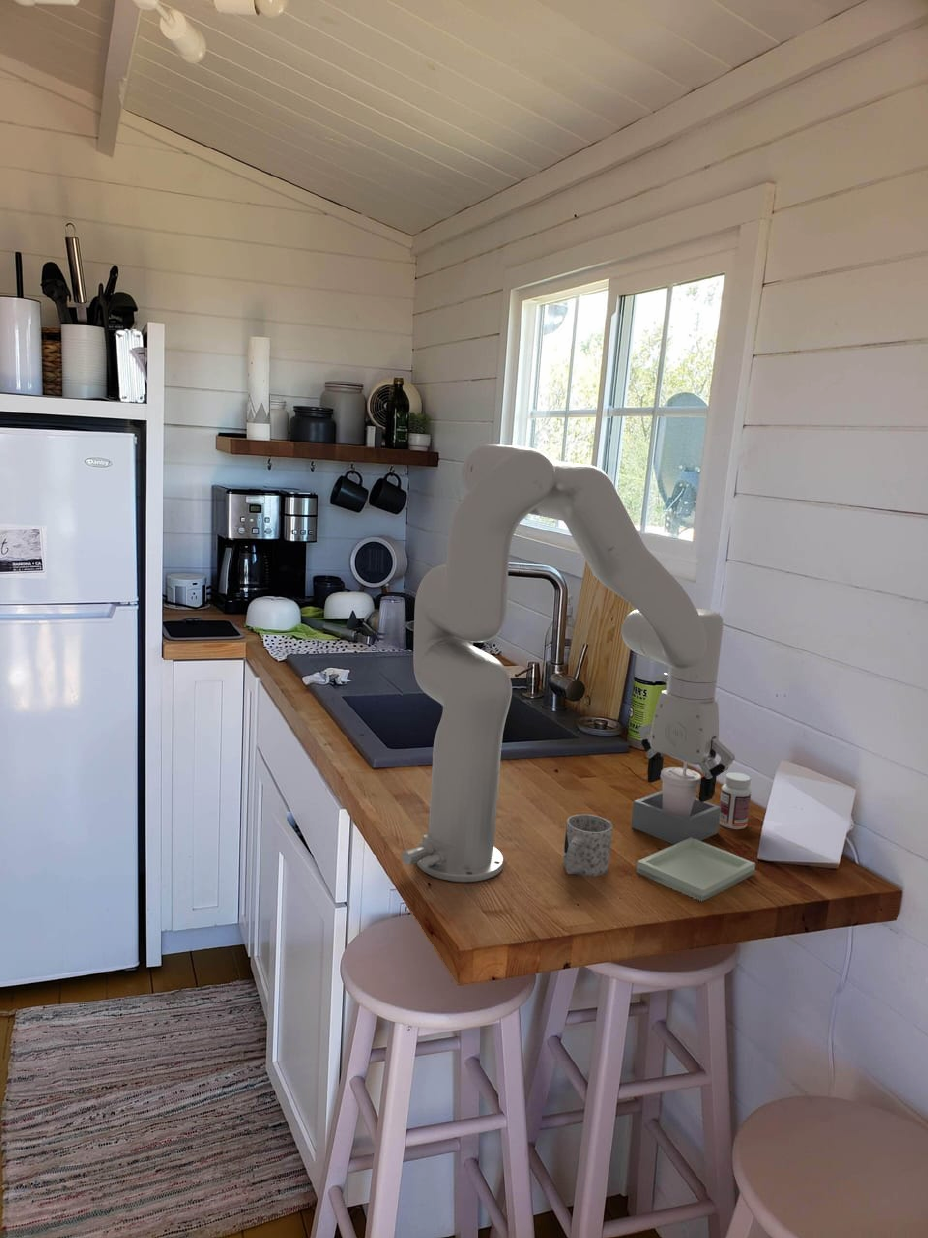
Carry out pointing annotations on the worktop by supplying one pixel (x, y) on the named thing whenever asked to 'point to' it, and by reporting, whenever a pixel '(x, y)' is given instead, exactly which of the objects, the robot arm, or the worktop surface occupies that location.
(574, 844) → the mug
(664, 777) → the smoothie
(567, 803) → the worktop surface
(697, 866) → the tray
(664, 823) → the grey square tube frame
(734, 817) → the pill bottle
